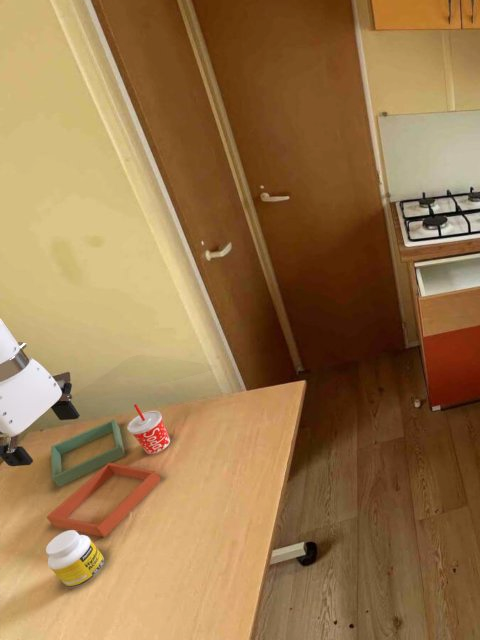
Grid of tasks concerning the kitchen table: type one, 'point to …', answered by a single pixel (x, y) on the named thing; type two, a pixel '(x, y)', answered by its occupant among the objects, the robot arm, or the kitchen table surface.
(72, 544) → the supplement bottle
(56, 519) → the bin
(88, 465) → the bin
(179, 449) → the kitchen table surface
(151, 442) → the beverage cup
